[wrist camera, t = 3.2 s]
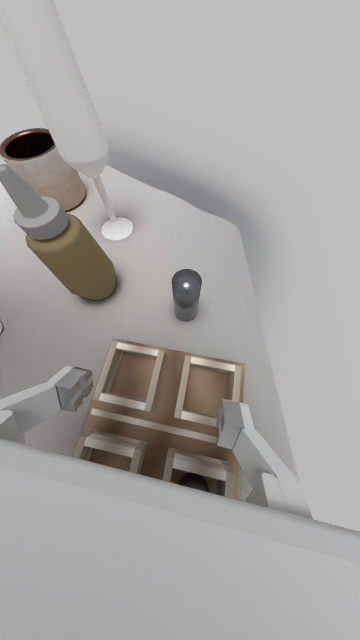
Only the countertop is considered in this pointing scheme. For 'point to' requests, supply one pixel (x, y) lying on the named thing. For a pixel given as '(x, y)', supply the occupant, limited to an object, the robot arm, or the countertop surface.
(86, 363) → the countertop surface
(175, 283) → the pin
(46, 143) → the planter
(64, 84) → the champagne flute
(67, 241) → the squeeze bottle
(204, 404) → the wooden compartment tray
